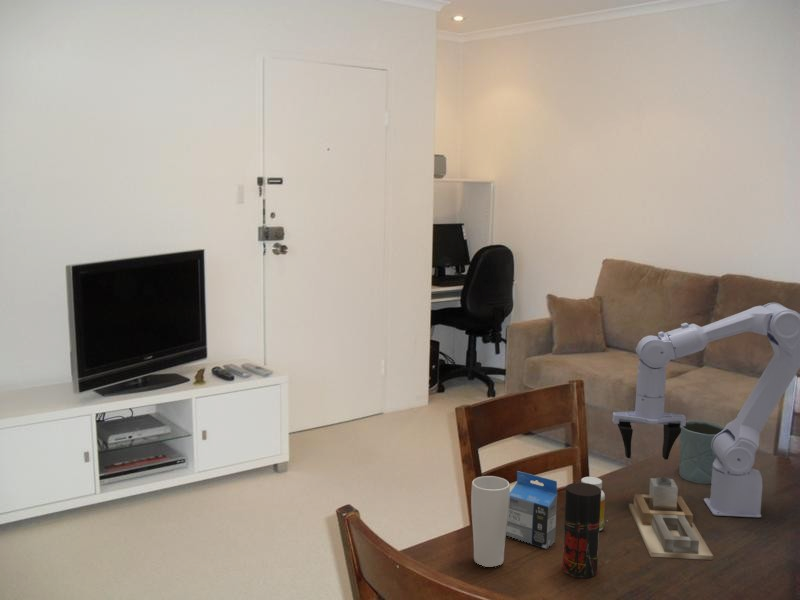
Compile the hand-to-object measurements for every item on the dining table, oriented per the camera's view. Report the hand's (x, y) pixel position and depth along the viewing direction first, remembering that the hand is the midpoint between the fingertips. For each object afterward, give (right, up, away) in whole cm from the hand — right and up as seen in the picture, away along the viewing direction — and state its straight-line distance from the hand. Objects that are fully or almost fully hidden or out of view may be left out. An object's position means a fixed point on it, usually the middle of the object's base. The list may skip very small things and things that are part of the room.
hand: (646, 457), depth 169 cm
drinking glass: (-36, -14, -24) cm, 45 cm away
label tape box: (-27, -13, -15) cm, 33 cm away
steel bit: (+1, -11, -6) cm, 12 cm away
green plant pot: (+18, -8, +17) cm, 26 cm away
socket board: (+1, -12, -11) cm, 17 cm away
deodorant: (-20, -15, -27) cm, 36 cm away
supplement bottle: (-14, -12, -9) cm, 21 cm away
